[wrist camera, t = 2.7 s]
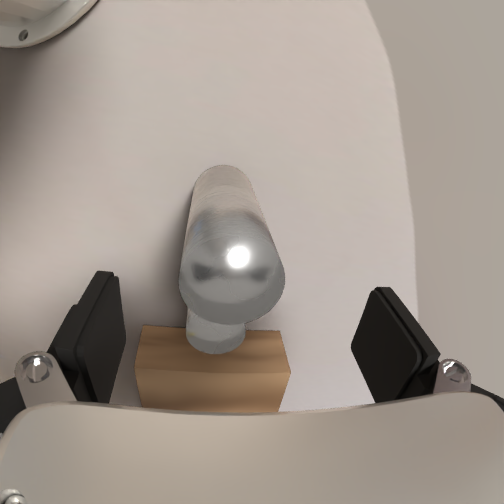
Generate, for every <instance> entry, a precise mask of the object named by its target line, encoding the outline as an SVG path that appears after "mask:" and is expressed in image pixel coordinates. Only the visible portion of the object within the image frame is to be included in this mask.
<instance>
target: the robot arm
mask: <svg viewBox="0 0 504 504" xmlns="http://www.w3.org/2000/svg"><path fill="white" fill-rule="evenodd" d="M96 1H97V0H0V47H6V48H23V47H29V46H33V45H36V44H38V43H41V42H44V41H46V40H48V39H50V38H52V37H54V36H55V35H57V34H59V33H61V32H62V31H64V30H65V29H66V28H68V27H69V26H71V25H72V24H74V23H75V22H76V21H77V20H78V19H79V18H80V17H81V16H83V15H84V14H85V13H86V12H87V11H88V10H89V9H90V8H91V7H92V6H93V5H94V4H95V2H96ZM125 342H126V333H125V326H124V319H123V312H122V304H121V295H120V286H119V278H118V277H117V276H114V274H113V272H107V271H97V272H96V273H95V275H94V277H93V278H92V280H91V282H90V283H89V285H88V287H87V289H86V290H85V292H84V294H83V295H82V297H81V299H80V301H79V302H78V304H77V305H73V306H72V307H71V309H70V310H69V312H68V314H67V316H66V317H65V319H64V321H63V323H62V325H61V326H60V328H59V330H58V332H57V334H56V336H55V338H54V340H53V341H52V343H51V345H50V347H49V349H48V351H47V353H46V352H43V351H36V352H32V353H29V354H27V355H25V356H23V357H22V358H21V359H20V360H19V361H18V363H17V364H16V367H15V376H16V377H14V378H12V379H10V380H8V381H5V382H3V383H1V384H0V504H504V399H503V398H501V397H499V396H497V395H494V394H493V393H490V392H488V391H486V390H484V389H482V388H480V387H478V386H475V385H473V384H471V374H470V372H469V370H468V369H467V367H466V366H464V365H463V364H462V363H461V362H459V361H457V360H454V359H444V360H442V361H441V362H439V361H438V358H439V356H440V352H439V351H438V350H437V348H436V347H435V345H434V344H433V343H432V341H431V340H430V338H429V337H428V336H427V334H426V333H425V332H424V330H423V329H422V328H421V326H420V325H419V323H418V322H417V321H416V319H415V318H414V317H413V316H412V314H411V313H410V312H409V310H408V309H407V308H406V306H405V305H404V304H403V302H402V301H401V300H400V299H399V297H398V296H397V295H396V294H395V292H394V291H393V290H392V289H391V288H390V287H376V288H375V289H374V290H373V291H371V293H370V295H369V298H368V301H367V303H366V306H365V309H364V312H363V314H362V317H361V320H360V322H359V325H358V328H357V330H356V333H355V335H354V338H353V340H352V343H351V350H352V353H353V355H354V357H355V359H356V361H357V364H358V366H359V368H360V370H361V372H362V374H363V377H364V379H365V381H366V383H367V385H368V388H369V390H370V392H371V394H372V396H373V399H374V401H375V403H374V404H366V405H359V406H350V407H341V408H330V409H319V410H305V411H288V412H251V413H234V412H198V411H180V410H167V409H154V408H143V407H133V406H124V405H116V404H109V401H110V397H111V393H112V389H113V385H114V382H115V378H116V374H117V371H118V367H119V364H120V360H121V357H122V353H123V350H124V346H125Z"/></svg>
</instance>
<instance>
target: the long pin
mask: <svg viewBox="0 0 504 504" xmlns="http://www.w3.org/2000/svg"><path fill="white" fill-rule="evenodd" d="M284 285H285V272H284V268H283V265H282V262H281V260H280V257H279V255H278V252H277V249H276V247H275V244H274V242H273V239H272V236H271V234H270V231H269V229H268V226H267V224H266V221H265V219H264V216H263V213H262V211H261V208H260V206H259V203H258V201H257V198H256V196H255V193H254V191H253V188H252V186H251V183H250V181H249V179H248V178H247V176H246V175H245V174H244V173H243V172H242V171H241V170H239V169H237V168H235V167H232V166H227V165H219V166H215V167H212V168H210V169H208V170H206V171H205V172H203V173H202V174H201V175H200V177H199V178H198V180H197V181H196V184H195V187H194V191H193V196H192V202H191V207H190V213H189V218H188V224H187V230H186V235H185V241H184V247H183V254H182V260H181V266H180V273H179V290H180V294H181V296H182V299H183V300H184V302H185V304H186V305H187V306H188V307H189V309H190V310H191V311H193V312H194V313H195V314H196V315H198V316H199V317H201V318H203V319H205V320H207V321H210V322H213V323H217V324H222V325H237V324H243V323H247V322H250V321H253V320H255V319H258V318H260V317H261V316H263V315H265V314H266V313H267V312H269V311H270V310H271V309H272V308H273V307H274V306H275V304H276V303H277V302H278V300H279V299H280V297H281V295H282V292H283V289H284Z"/></svg>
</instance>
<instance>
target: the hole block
mask: <svg viewBox="0 0 504 504" xmlns="http://www.w3.org/2000/svg"><path fill="white" fill-rule="evenodd" d="M134 371H135V376H136V381H137V386H138V391H139V395H140V400H141V405H142V407H143V408H154V409H167V410H180V411H198V412H234V413H251V412H278V410H279V407H280V404H281V401H282V398H283V395H284V392H285V389H286V386H287V383H288V380H289V377H290V374H291V371H290V367H289V363H288V360H287V356H286V352H285V349H284V345H283V341H282V337H281V334H280V331H254V330H246V334H245V338H244V340H243V342H242V343H241V344H240V345H239V346H238V347H237V348H236V349H234V350H232V351H230V352H227V353H223V354H208V353H204V352H201V351H199V350H197V349H196V348H194V347H193V346H192V345H191V344H190V343H189V341H188V339H187V337H186V328H177V327H162V326H148V325H143V328H142V332H141V336H140V341H139V346H138V350H137V355H136V360H135V365H134Z"/></svg>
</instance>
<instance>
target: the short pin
mask: <svg viewBox="0 0 504 504" xmlns="http://www.w3.org/2000/svg"><path fill="white" fill-rule="evenodd" d="M245 334H246V330H245V323H243V324H237V325H222V324H217V323H213V322H210V321H207V320H205V319H203V318H201V317H199V316H198V315H196V314H195V313H194V312H193V311H191V310H190V309H189V307H188V310H187V323H186V337H187V339H188V341H189V343H190V344H191V345H192V346H193V347H194V348H196V349H197V350H199V351H201V352H204V353H208V354H223V353H227V352H230V351H232V350H234V349H236V348H237V347H238V346H239V345H240V344H241V343H242V342H243V340H244V338H245Z"/></svg>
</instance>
